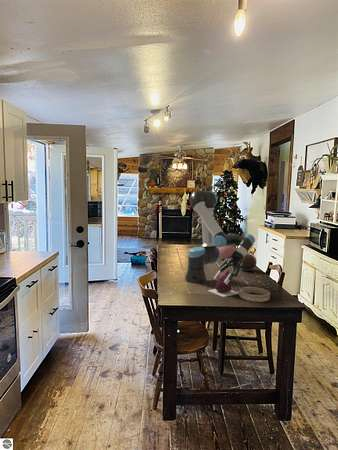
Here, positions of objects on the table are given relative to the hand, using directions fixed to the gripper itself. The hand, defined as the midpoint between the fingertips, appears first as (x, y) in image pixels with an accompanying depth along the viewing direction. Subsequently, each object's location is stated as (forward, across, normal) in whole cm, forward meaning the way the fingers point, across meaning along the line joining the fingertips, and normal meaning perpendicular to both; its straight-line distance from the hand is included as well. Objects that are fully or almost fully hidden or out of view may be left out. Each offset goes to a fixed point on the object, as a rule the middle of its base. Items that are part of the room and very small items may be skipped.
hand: (220, 281), depth 213 cm
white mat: (+3, 0, -8) cm, 8 cm away
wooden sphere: (-39, +33, -50) cm, 72 cm away
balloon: (-52, +72, -63) cm, 109 cm away
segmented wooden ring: (-5, -16, -16) cm, 23 cm away
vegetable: (+2, 0, -6) cm, 7 cm away
